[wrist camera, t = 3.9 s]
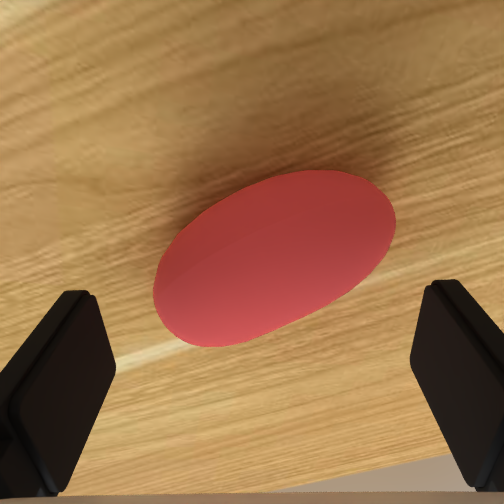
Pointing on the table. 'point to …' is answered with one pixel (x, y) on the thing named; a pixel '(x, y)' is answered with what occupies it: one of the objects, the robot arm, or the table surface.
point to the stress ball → (271, 256)
